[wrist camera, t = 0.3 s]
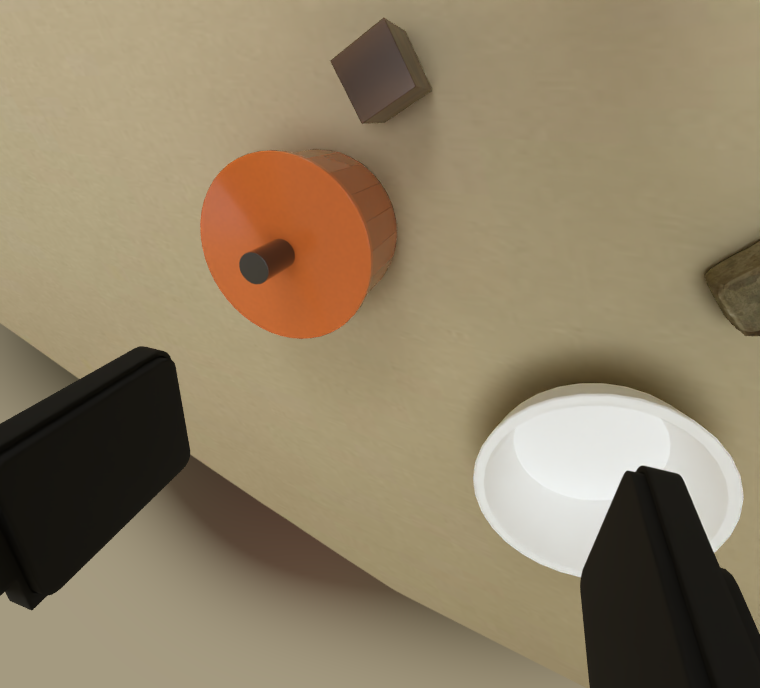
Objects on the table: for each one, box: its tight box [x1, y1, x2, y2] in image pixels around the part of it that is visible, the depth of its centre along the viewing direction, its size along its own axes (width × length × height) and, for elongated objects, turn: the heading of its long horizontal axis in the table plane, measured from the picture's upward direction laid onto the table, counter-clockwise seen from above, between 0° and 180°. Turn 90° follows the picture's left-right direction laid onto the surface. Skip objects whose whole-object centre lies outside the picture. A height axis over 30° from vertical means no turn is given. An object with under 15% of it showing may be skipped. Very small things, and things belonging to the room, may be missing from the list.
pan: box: [292, 149, 397, 292], centre depth 43 cm, size 15×15×9 cm
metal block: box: [331, 18, 432, 124], centre depth 36 cm, size 5×5×6 cm
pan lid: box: [200, 150, 373, 339], centre depth 37 cm, size 16×16×6 cm
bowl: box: [473, 383, 744, 577], centre depth 45 cm, size 22×22×8 cm
